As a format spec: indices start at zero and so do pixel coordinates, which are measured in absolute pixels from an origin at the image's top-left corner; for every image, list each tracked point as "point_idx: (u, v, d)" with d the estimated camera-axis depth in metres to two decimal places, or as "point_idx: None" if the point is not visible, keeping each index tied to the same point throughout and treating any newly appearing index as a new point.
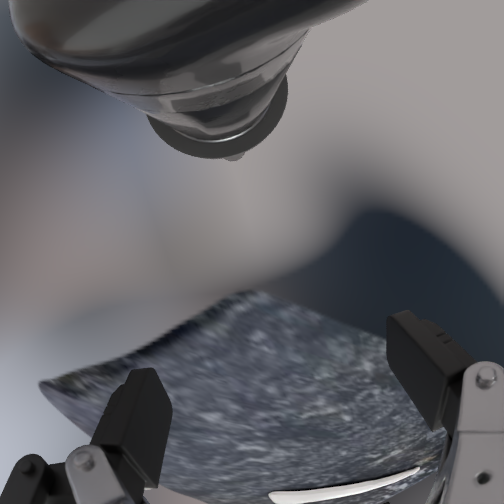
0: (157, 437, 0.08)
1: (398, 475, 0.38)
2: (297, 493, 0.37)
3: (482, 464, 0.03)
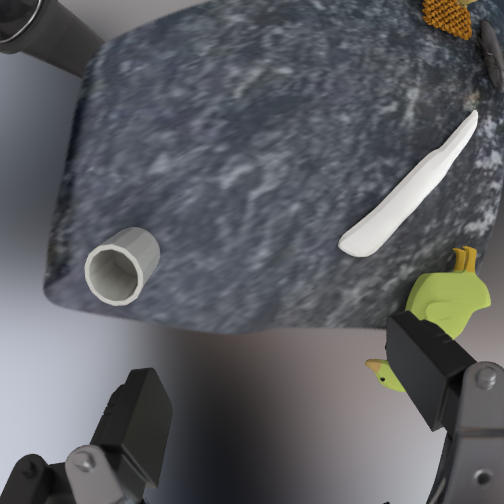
0: (157, 436, 0.08)
1: (460, 127, 0.30)
2: (368, 219, 0.33)
3: (482, 464, 0.03)
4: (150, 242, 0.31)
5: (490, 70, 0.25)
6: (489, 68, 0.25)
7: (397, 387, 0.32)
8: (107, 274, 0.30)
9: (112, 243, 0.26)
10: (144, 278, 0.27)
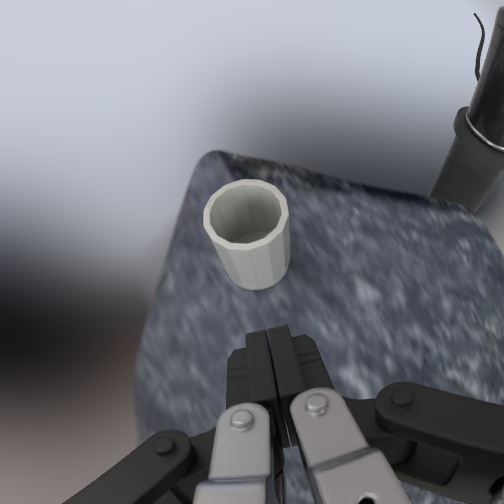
0: (280, 396, 0.09)
1: None
2: None
3: (357, 492, 0.03)
4: (274, 275, 0.25)
5: None
6: None
7: None
8: (237, 216, 0.26)
9: (288, 215, 0.21)
10: (237, 253, 0.21)
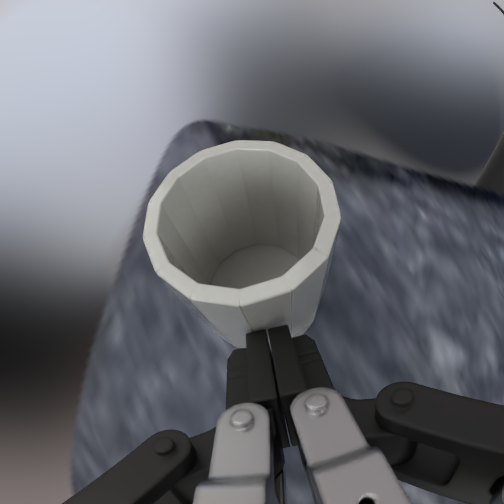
0: (279, 396, 0.09)
1: None
2: None
3: (357, 492, 0.03)
4: (293, 334, 0.13)
5: None
6: None
7: None
8: (226, 217, 0.14)
9: None
10: (216, 309, 0.08)
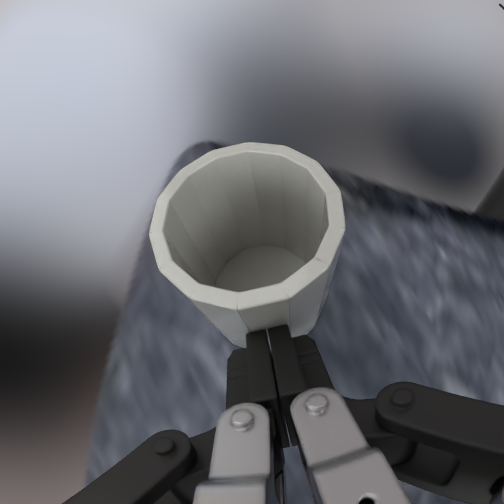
0: (279, 396, 0.09)
1: None
2: None
3: (357, 492, 0.03)
4: None
5: None
6: None
7: None
8: (235, 216, 0.14)
9: None
10: (214, 310, 0.09)
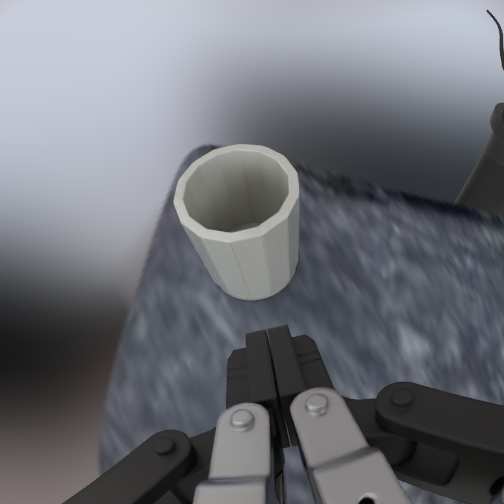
0: (279, 396, 0.09)
1: None
2: None
3: (357, 492, 0.03)
4: (272, 283, 0.18)
5: None
6: None
7: None
8: (230, 197, 0.19)
9: (299, 197, 0.14)
10: (216, 246, 0.14)
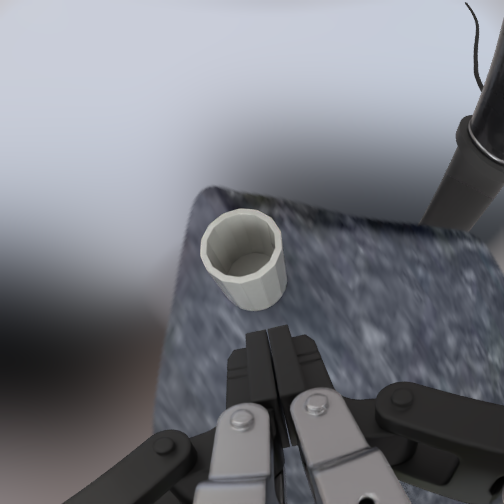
0: (279, 396, 0.09)
1: None
2: None
3: (357, 492, 0.03)
4: (269, 299, 0.26)
5: None
6: None
7: None
8: (235, 240, 0.27)
9: (282, 249, 0.22)
10: (231, 285, 0.22)
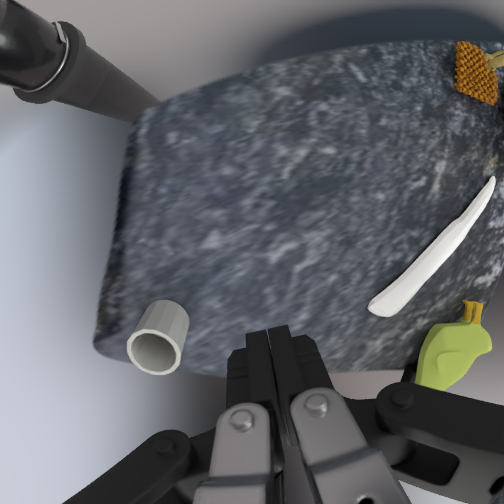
0: (279, 396, 0.09)
1: (478, 196, 0.34)
2: (394, 285, 0.37)
3: (357, 491, 0.03)
4: (183, 318, 0.35)
5: None
6: None
7: None
8: (142, 342, 0.34)
9: (155, 328, 0.30)
10: (181, 356, 0.31)
